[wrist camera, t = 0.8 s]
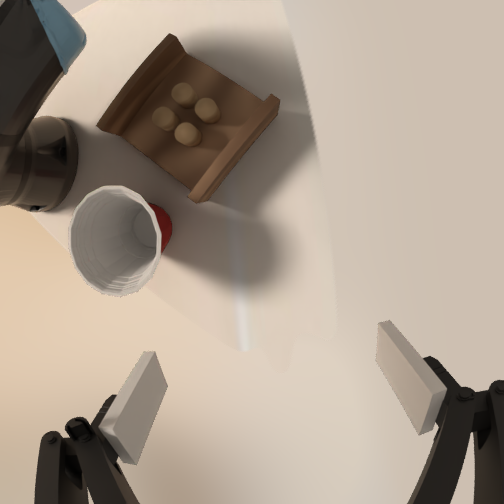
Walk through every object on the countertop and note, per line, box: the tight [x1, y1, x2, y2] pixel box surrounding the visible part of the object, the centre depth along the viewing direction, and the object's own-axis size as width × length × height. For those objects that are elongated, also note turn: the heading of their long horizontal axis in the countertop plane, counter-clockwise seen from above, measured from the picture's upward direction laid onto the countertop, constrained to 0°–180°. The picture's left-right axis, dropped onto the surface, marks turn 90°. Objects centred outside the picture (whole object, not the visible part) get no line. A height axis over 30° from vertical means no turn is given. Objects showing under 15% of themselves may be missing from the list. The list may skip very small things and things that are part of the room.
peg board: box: [96, 33, 280, 204], centre depth 30 cm, size 16×14×6 cm
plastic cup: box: [69, 186, 172, 297], centre depth 30 cm, size 11×11×12 cm
